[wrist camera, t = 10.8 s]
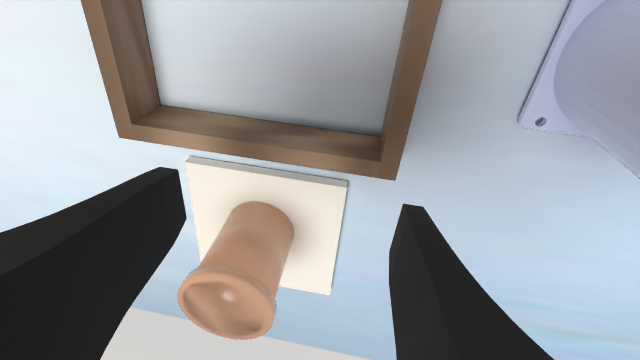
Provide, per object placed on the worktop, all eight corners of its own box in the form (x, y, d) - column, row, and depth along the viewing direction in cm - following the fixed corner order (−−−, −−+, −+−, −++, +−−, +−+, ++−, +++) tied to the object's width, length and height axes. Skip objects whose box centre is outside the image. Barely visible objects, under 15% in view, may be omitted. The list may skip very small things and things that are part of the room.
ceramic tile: (348, 181, 22) (347, 187, 22) (330, 287, 28) (329, 295, 28) (190, 156, 23) (184, 161, 22) (206, 264, 29) (202, 271, 29)
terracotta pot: (293, 198, 23) (263, 280, 17) (302, 257, 26) (279, 343, 20) (216, 196, 24) (163, 273, 18) (234, 253, 27) (193, 334, 21)
